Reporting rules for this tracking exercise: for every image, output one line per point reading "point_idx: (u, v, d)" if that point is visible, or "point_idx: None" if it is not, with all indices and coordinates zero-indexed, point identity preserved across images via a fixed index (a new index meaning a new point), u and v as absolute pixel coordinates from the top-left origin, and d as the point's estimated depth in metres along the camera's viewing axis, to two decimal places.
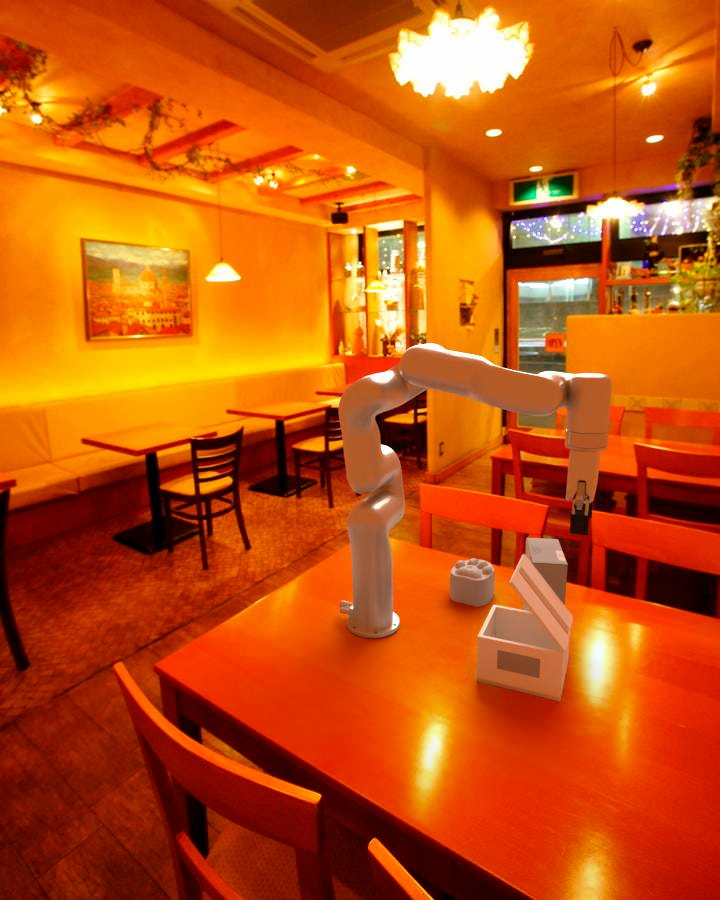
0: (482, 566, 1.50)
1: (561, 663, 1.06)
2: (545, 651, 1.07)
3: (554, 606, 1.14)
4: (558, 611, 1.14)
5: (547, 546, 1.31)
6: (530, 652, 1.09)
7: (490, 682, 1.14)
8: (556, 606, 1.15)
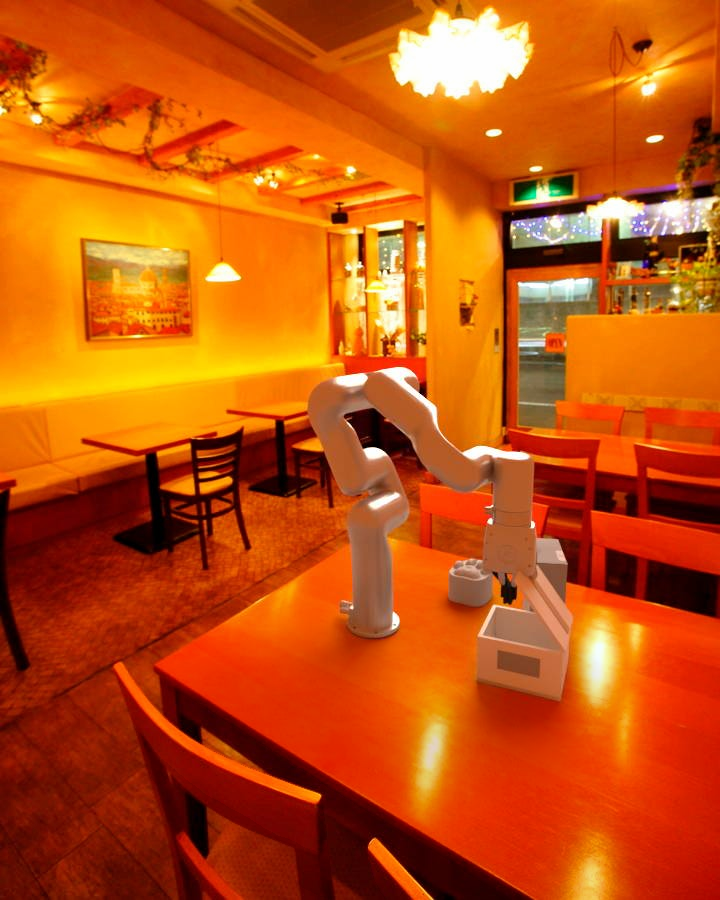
0: (480, 566, 1.50)
1: (561, 663, 1.06)
2: (545, 651, 1.07)
3: (555, 605, 1.14)
4: (559, 611, 1.14)
5: (547, 546, 1.31)
6: (530, 652, 1.09)
7: (490, 682, 1.14)
8: (557, 606, 1.15)
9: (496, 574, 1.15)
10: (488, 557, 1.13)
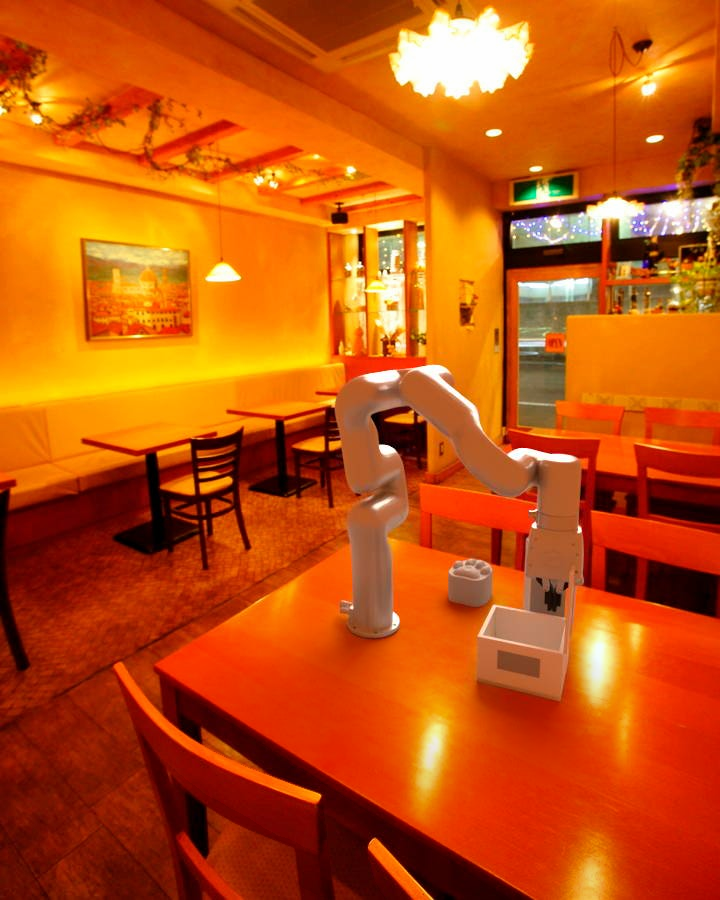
0: (480, 566, 1.50)
1: (561, 663, 1.06)
2: (545, 651, 1.07)
3: None
4: None
5: None
6: (530, 652, 1.09)
7: (490, 682, 1.14)
8: None
9: (540, 580, 1.11)
10: (532, 563, 1.09)
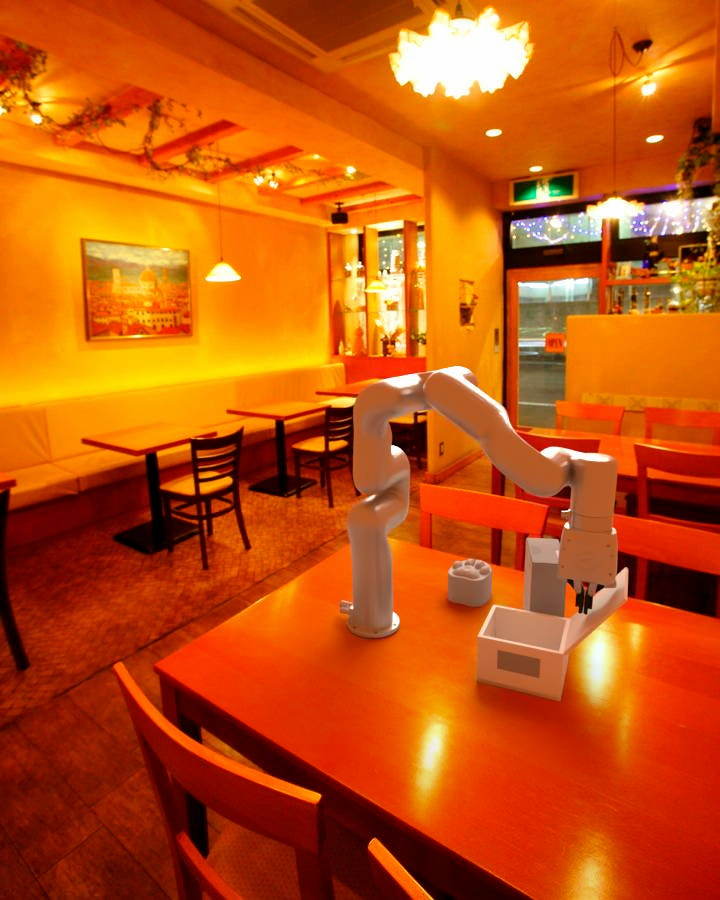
0: (479, 566, 1.50)
1: (561, 663, 1.06)
2: (545, 651, 1.07)
3: None
4: None
5: (547, 546, 1.31)
6: (530, 652, 1.09)
7: (490, 682, 1.14)
8: None
9: (571, 582, 1.09)
10: (564, 564, 1.07)
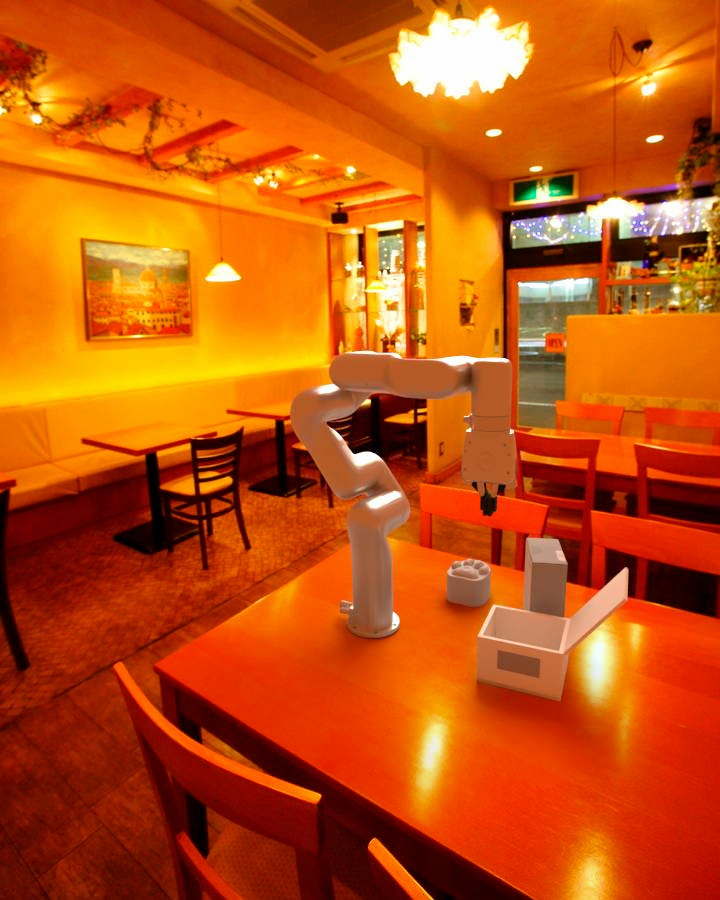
0: (478, 566, 1.49)
1: (561, 663, 1.06)
2: (545, 651, 1.07)
3: None
4: None
5: (547, 546, 1.31)
6: (530, 652, 1.09)
7: (490, 682, 1.14)
8: None
9: (475, 486, 1.13)
10: (467, 467, 1.11)
